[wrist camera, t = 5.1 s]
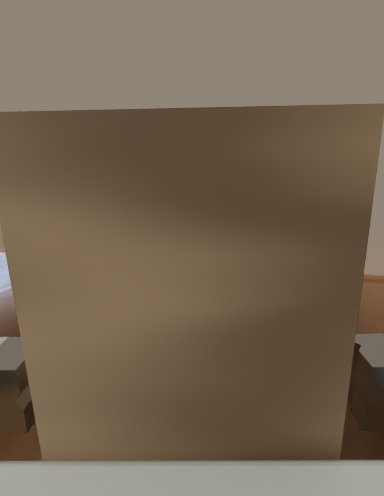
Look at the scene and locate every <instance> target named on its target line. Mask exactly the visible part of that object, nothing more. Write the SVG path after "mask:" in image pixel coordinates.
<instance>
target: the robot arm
mask: <svg viewBox="0 0 384 496" xmlns="http://www.w3.org/2000/svg"><path fill="white" fill-rule="evenodd" d="M347 401H348V402H350V403H351V404H352V406H351V412H352V414H353V415H354V417H355V419H356V420H357V422H358V424H359V425H360V427H361V429H362V430H363V431H368V432H384V333H376V334H356V337H355V345H354V353H353V360H352V368H351V376H350V384H349V392H348V400H347ZM34 421H35V415H34V410H33V404H32V399H31V393H30V387H29V382H28V376H27V370H26V365H25V359H24V353H23V348H22V342H21V337H0V434H12V433H28V431H29V430H30V428H31V426H32V425H33V423H34ZM0 496H384V460H136V461H0Z"/></svg>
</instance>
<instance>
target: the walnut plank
mask: <svg viewBox="0 0 384 496" xmlns="http://www.w3.org/2000/svg"><path fill="white" fill-rule="evenodd" d="M383 118H384V104H349V105H348V104H346V105H302V106H301V105H300V106H256V107H211V108H167V109H166V108H165V109H164V108H163V109H124V110H123V109H122V110H121V109H120V110H119V109H118V110H77V111H76V110H73V111H28V112H0V224H1V230H2V235H3V241H4V246H5V252H6V258H7V263H8V269H9V275H10V280H11V286H12V292H13V297H14V303H15V308H16V314H17V320H18V325H19V331H20V337H21V342H22V348H23V353H24V359H25V365H26V370H27V376H28V382H29V387H30V393H31V399H32V404H33V410H34V415H35V421H36V427H37V432H38V438H39V444H40V449H41V455H42V460H43V461H136V460H340V454H341V447H342V439H343V431H344V423H345V415H346V407H347V400H348V392H349V384H350V376H351V368H352V360H353V353H354V345H355V337H356V329H357V321H358V314H359V306H360V298H361V290H362V282H363V274H364V266H365V259H366V250H367V242H368V235H369V227H370V220H371V212H372V204H373V196H374V188H375V180H376V173H377V165H378V157H379V149H380V141H381V133H382V126H383Z"/></svg>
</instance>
